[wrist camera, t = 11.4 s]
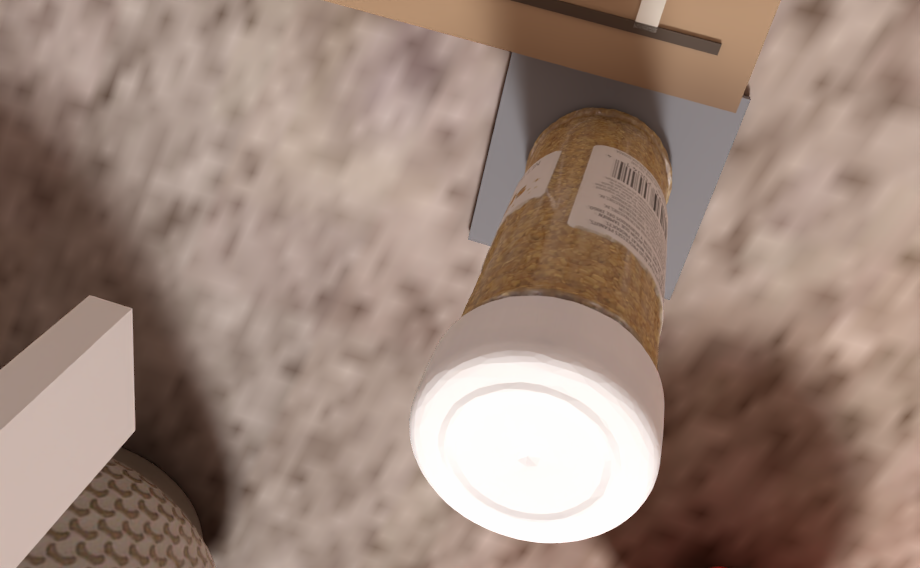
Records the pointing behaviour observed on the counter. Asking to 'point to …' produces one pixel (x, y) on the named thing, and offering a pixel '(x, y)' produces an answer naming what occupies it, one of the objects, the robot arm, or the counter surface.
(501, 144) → the end pad
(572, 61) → the board
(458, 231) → the counter surface
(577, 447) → the spice jar
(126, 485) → the planter
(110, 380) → the robot arm
